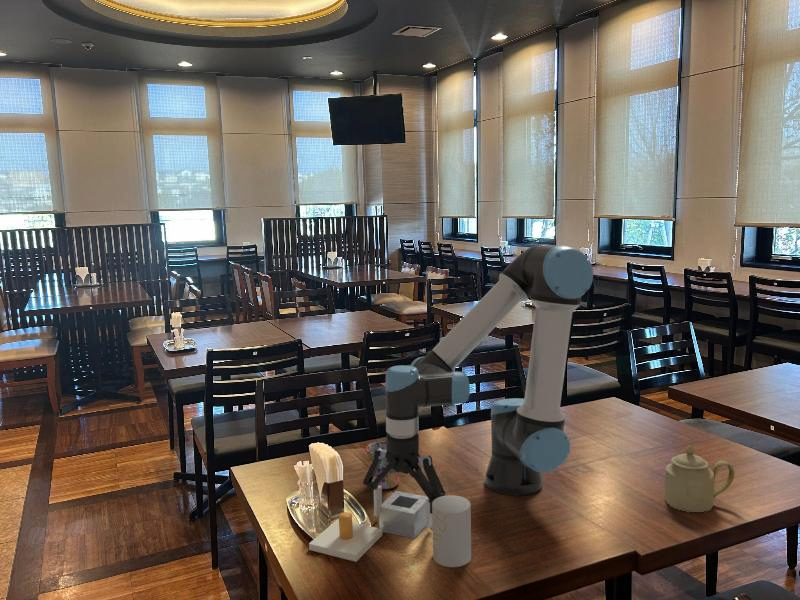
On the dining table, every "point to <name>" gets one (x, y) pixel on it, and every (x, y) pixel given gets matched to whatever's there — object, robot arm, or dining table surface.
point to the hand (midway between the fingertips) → (403, 519)
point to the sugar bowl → (693, 482)
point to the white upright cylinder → (451, 530)
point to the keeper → (346, 538)
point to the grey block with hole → (403, 514)
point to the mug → (382, 466)
